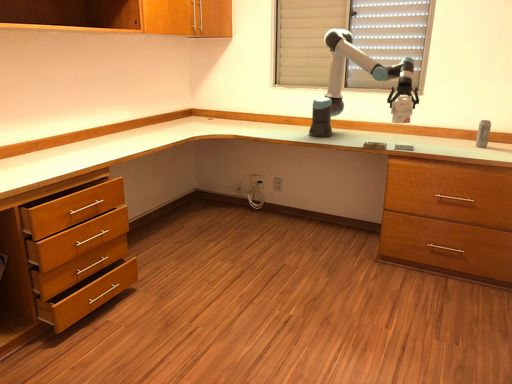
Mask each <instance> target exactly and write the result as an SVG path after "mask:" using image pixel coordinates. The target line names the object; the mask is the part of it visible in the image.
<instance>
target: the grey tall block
mask: <svg viewBox="0 0 512 384" xmlns="http://www.w3.org/2000/svg"><path fill="white" fill-rule="evenodd" d="M491 122H492V121H491V120H489V119H481V120H480V121H479V123H478V128H477V135H476V141H475V147H478V148H482V149H483V148H487V147H488V146H489V145H488V144H489V137H490V132H491V126H492V123H491Z"/></svg>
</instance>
